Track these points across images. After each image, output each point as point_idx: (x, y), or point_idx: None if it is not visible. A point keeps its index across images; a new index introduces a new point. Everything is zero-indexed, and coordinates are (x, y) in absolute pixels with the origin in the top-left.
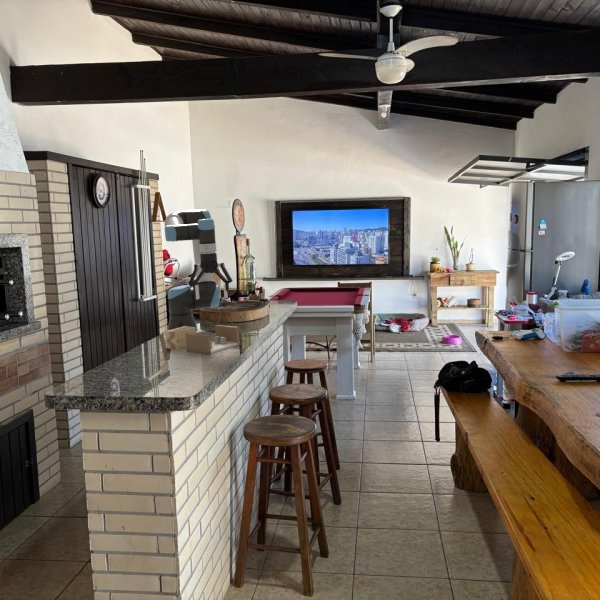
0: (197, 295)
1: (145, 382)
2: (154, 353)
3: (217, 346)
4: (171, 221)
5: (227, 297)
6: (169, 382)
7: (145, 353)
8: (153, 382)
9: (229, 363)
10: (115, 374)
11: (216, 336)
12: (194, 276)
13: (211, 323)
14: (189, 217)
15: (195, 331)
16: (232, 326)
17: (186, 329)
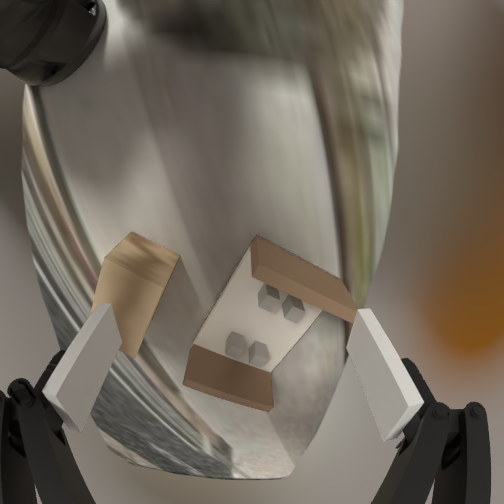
0: (110, 360)
1: (209, 459)
2: None
3: (278, 331)
4: None
5: (369, 312)
6: (244, 461)
7: None
8: (221, 460)
9: (322, 413)
10: (138, 434)
11: (267, 301)
12: (20, 484)
13: None
14: None
15: (167, 279)
16: (339, 305)
17: (146, 324)
